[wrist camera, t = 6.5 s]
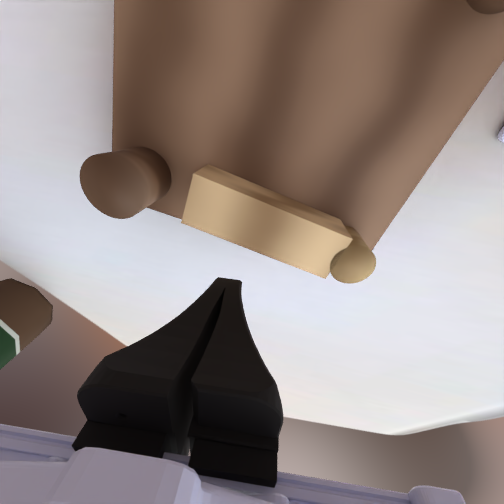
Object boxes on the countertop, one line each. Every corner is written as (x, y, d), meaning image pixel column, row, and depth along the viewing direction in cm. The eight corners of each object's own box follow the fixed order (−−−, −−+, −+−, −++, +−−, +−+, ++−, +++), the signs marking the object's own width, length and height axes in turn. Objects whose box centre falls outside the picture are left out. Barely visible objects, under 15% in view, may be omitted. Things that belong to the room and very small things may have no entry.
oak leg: (369, 231, 17) (387, 253, 14) (345, 265, 18) (357, 291, 16) (208, 164, 16) (193, 173, 13) (196, 206, 17) (181, 222, 14)
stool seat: (553, -63, 11) (827, -246, 6) (345, 261, 21) (369, 312, 16) (154, -260, 10) (-11, -771, 4) (129, 187, 20) (70, 213, 14)
